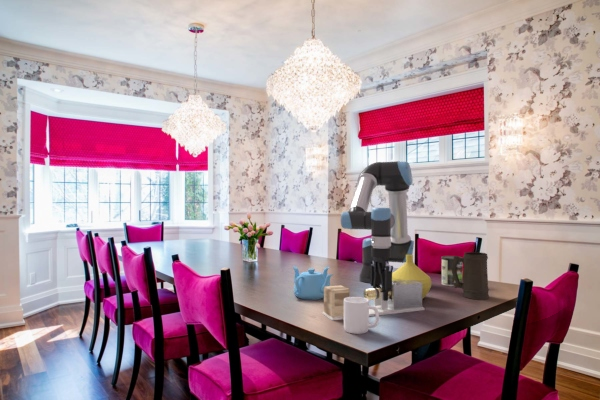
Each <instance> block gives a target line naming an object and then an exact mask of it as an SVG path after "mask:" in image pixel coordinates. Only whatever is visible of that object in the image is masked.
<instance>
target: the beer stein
mask: <svg viewBox="0 0 600 400" xmlns="http://www.w3.org/2000/svg"><path fill="white" fill-rule="evenodd" d="M453 256H454V261H453V263H452V274H453V277H454V279H455V284H454V286H453V287H454V289H457V288H460V289H462V296H463V297H464V298H466V299H471V300H484V301H485V300H487V299H489V298H490V296H489V282H488V281H489V280H488V279H489V277H488V275H489V274H488V259H489V257H488V253H485V252H478V251H467V252H464V254H463V257H462V258H461V256H458V255H453ZM458 262H462V265H463V269H462V283H460V281H459V278H458V275H457V270H456V267H457V263H458Z"/></svg>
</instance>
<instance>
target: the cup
mask: <svg viewBox="0 0 600 400" xmlns="http://www.w3.org/2000/svg"><path fill="white" fill-rule="evenodd" d="M369 302H370V300H368V299H367V298H364V296H363V297H362V296H349V297H347V298H344V319H343V330H344V331H345V332H347V333H349V334H356V335H362V334H366V333H368V331H369V329H370V328H371V329H372V328H373V329H374V328H375V327H377V326H378V325H379V321H380V315H379V312H378V310H377V308H376V307H375V306H374V305H371V304H370V303H369ZM369 309H373V310H374V311H375V314H376V316H375V321H374V323H370V322H369V321H370V318H369V317H370V316H369Z"/></svg>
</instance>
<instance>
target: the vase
mask: <svg viewBox="0 0 600 400" xmlns="http://www.w3.org/2000/svg"><path fill="white" fill-rule="evenodd" d="M400 280H414V281H418V282H421V283H422V300H423V299H424V298H425V297H426V296H427V295H428V294H429V291H430V290H431V287H432V279H431V277H430V276H429V275H428V274H427V273H425V272H424V271H423V269H421V268H420V267H418V266H417V265H416V264H415V263H414V255H406V262H405V263H403V264H402V265H401V266H400V267H398V268H397V269H396V270H395V271H392V281H400Z"/></svg>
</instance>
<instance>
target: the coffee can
mask: <svg viewBox="0 0 600 400" xmlns="http://www.w3.org/2000/svg"><path fill="white" fill-rule="evenodd" d="M454 256H455V255H443V256H441V285H442V286H447V287H454V284H455V279H454V277H453V274H452V263H453V261H454ZM460 257H461V256H460ZM461 258H463V257H461ZM463 267H464V264H463V263H462V262H458V263H457V267H456V270H457V275H458V278H459V281H460V283H463Z"/></svg>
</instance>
